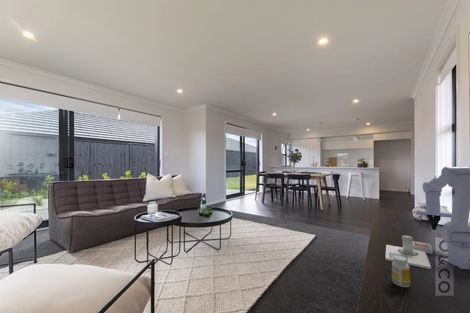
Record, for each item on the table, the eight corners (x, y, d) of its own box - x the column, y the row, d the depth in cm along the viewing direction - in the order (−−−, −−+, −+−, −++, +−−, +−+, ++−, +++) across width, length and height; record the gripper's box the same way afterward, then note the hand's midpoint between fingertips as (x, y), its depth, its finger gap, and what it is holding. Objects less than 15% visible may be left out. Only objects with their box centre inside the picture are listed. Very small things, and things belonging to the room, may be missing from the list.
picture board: (431, 269, 91) (430, 266, 91) (385, 259, 100) (385, 257, 100) (425, 253, 107) (425, 251, 107) (386, 246, 116) (386, 244, 116)
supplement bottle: (391, 283, 80) (390, 258, 81) (393, 278, 84) (392, 253, 85) (409, 289, 77) (408, 262, 77) (410, 283, 81) (409, 257, 81)
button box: (432, 254, 106) (432, 249, 106) (412, 250, 111) (411, 245, 111) (430, 248, 112) (430, 244, 112) (411, 245, 117) (410, 241, 117)
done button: (427, 249, 108) (427, 246, 108) (416, 247, 111) (415, 244, 111) (426, 246, 112) (426, 244, 112) (415, 244, 115) (415, 242, 115)
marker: (415, 253, 104) (414, 238, 104) (406, 253, 104) (405, 238, 105) (409, 250, 108) (409, 235, 108) (400, 250, 108) (400, 235, 109)
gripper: (449, 204, 114) (451, 229, 114) (414, 202, 123) (416, 225, 122) (452, 206, 109) (454, 233, 108) (415, 203, 117) (417, 228, 117)
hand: (434, 229), depth 115 cm, fingers closed
